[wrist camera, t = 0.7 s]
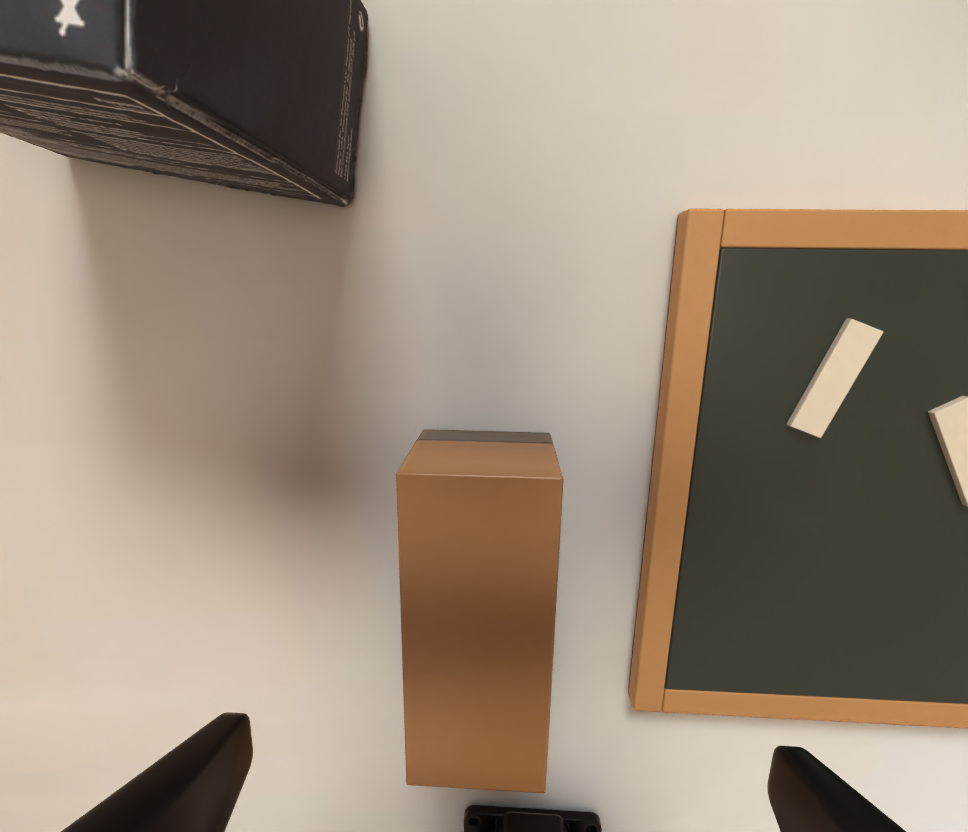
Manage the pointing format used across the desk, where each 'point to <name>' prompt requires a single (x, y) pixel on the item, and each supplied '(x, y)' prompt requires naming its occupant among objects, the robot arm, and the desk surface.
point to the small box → (192, 88)
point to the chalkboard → (807, 474)
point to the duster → (478, 606)
